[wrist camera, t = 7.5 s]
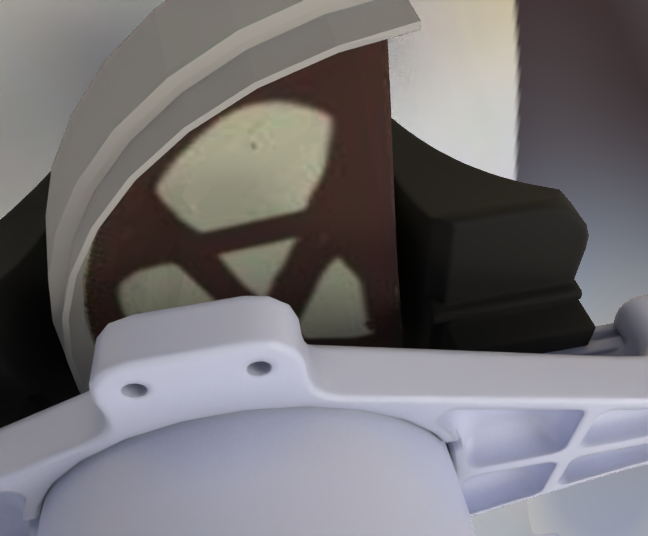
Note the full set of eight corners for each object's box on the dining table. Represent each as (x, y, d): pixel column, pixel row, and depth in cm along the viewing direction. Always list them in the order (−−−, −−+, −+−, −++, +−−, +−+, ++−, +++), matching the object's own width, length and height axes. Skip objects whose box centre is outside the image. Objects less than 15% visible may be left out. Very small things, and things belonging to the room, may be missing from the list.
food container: (12, -138, 12) (-275, 92, 5) (295, -190, 12) (423, -40, 5) (188, 259, 21) (179, 538, 14) (347, 228, 21) (418, 489, 14)
